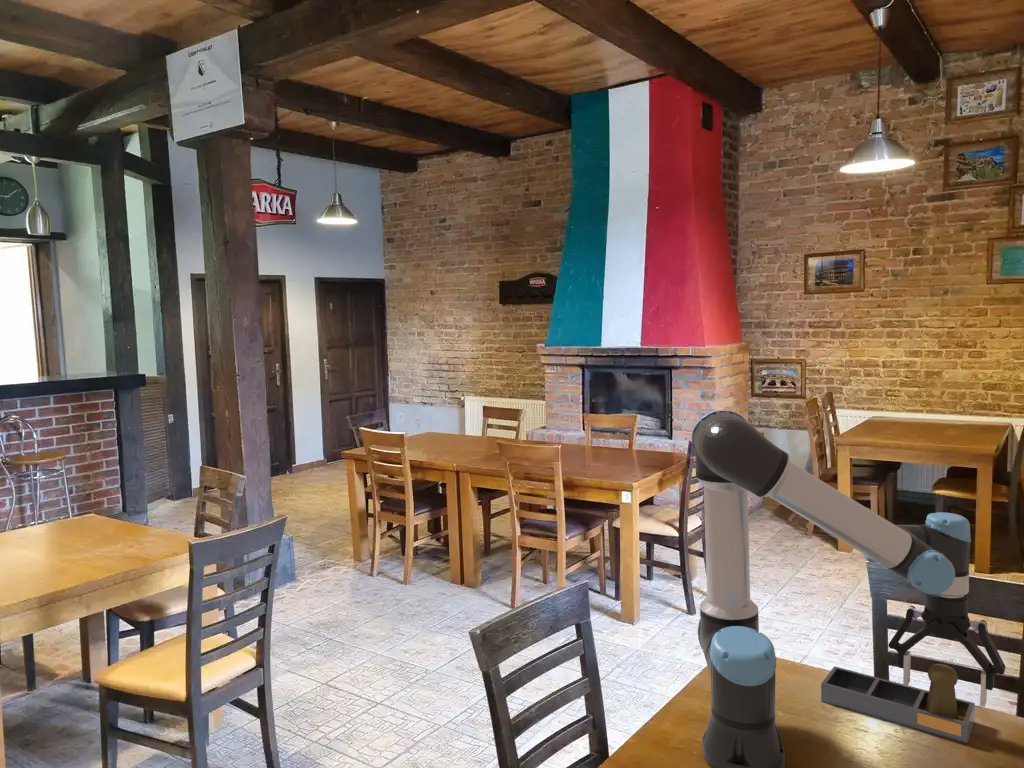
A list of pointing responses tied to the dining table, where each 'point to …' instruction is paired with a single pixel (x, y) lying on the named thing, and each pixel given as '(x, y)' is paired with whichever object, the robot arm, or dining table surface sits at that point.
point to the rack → (895, 703)
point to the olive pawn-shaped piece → (942, 691)
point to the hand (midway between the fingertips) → (943, 693)
